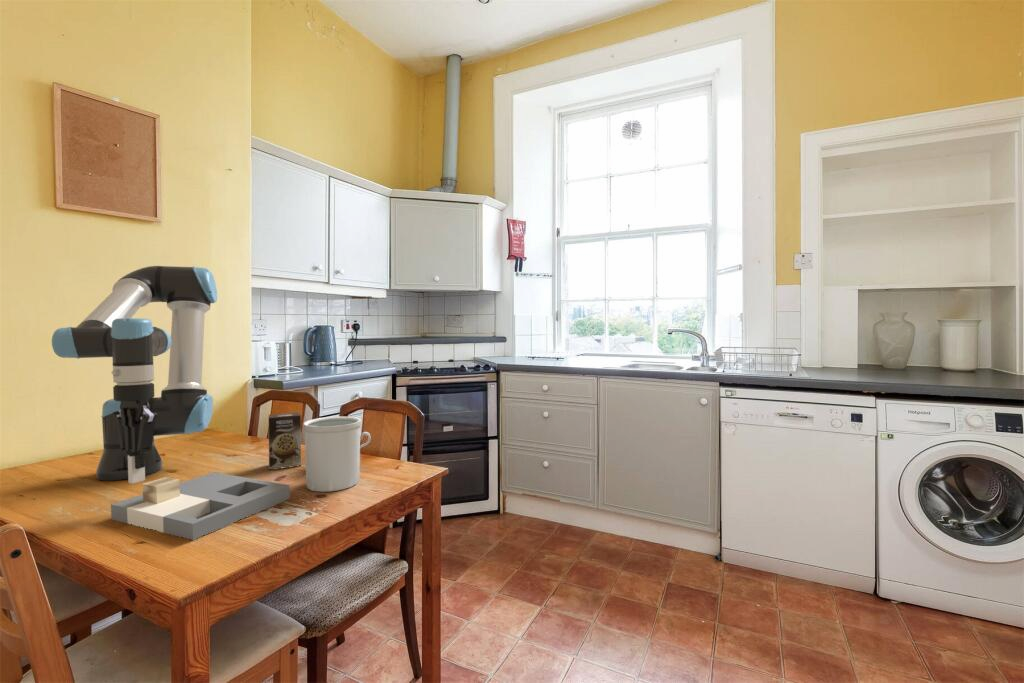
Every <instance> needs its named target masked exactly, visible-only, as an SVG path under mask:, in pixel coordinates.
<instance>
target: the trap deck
mask: <svg viewBox="0 0 1024 683" xmlns="http://www.w3.org/2000/svg"><path fill="white" fill-rule="evenodd" d="M289 498H290V499H291V486H290V485H289V484H285V483H279V482H275V481H274V482H273V481H269V480H262V479H255V478H250V477H243V476H239V475H232V474H227V473H220V472H215V471H213V472H211V473H208V474H203V475H201V476H197V477H194V478H191V479H189V480H188V479H187V480H184V481H181V482H180V496H179V497H176V498H173V499H170V500H167V501H164V502H161V503H158V504H155V503H150V502H146V501H143V493H142V494H139V495H135V496H133V497H129V498H126V499H123V500H120V501H117V502H114V503H111V504H110V515H111V520H112V521H115V522H120V523H124V524H128V525H131V524H132V525H131V526H136V527H139V526H140V527H139V528H143V527H144V528H143V529H147V528H148V529H149V530H150V529H153V530H152V531H154V530H157V531H156V532H158V531H159V532H158V533H162V532H164V533H163V534H166V533H167V535H170V534H171V536H174V535H175V537H177V536H179V538H181V537H184V538H183V539H185V538H187V539H186V540H189V539H191V540H190V541H193V540H194V541H196V540H198V539H200V538H199V537H201V536H203V535H205V536H207V535H206V534H208V533H210V534H212V533H213V532H212V531H215V530H217V531H219V530H221V529H223V528H222V527H224V528H226V527H228V526H231V525H232V524H231V523H233V524H235V523H237V522H236V521H238V520H240V519H242V520H244V519H243V518H245V517H247V516H249V517H251V516H253V515H252V514H254V515H256V514H258V513H261V512H263V511H265V510H268V509H270V508H272V507H274V505H275V506H277V505H279V504H281V503H284V502H286V501H288V500H290V499H289ZM287 499H288V500H287ZM285 500H286V501H285ZM283 501H284V502H283ZM278 503H279V504H278ZM276 504H277V505H276ZM267 508H268V509H267ZM262 510H263V511H262ZM260 511H261V512H260ZM257 512H258V513H257ZM255 513H256V514H255ZM250 515H251V516H250ZM247 518H248V517H247ZM245 519H246V518H245ZM240 521H241V520H240ZM234 522H235V523H234ZM238 522H239V521H238ZM230 524H231V525H230ZM227 525H228V526H227ZM225 526H226V527H225ZM220 528H221V529H220ZM148 529H147V530H148ZM218 529H219V530H218ZM211 532H212V533H211ZM215 532H216V531H215ZM208 535H209V534H208ZM203 537H204V536H203ZM197 538H198V539H197ZM201 538H202V537H201ZM195 539H196V540H195Z"/></svg>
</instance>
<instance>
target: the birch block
mask: <svg viewBox="0 0 1024 683" xmlns="http://www.w3.org/2000/svg"><path fill="white" fill-rule="evenodd" d="M180 483H181V482H180V479H177V478H172V477H169V476H168V477H166V476H164V477H162V478H159V479H155V480H150V481H148V482H144V483H142V494H143V501H146V502H150V503H155V504H158V503H161V502H164V501H167V500H170V499H173V498H176V497H179V496H180Z"/></svg>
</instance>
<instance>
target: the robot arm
mask: <svg viewBox="0 0 1024 683" xmlns="http://www.w3.org/2000/svg"><path fill="white" fill-rule="evenodd" d="M217 290H218V289H217V285H216V281H215V278H214V275H213V273H212V272H211V270H210V269H208V268H206V267H197V266H167V265H166V266H165V265H164V266H163V265H162V266H161V265H151V266H146V267H141V268H138V269H136V270H133V271H131V272H129V273H126V274H125V275H124V276H122V277H121V278H119V279H118V280H117V281H116V282H114V284H113V286H112V290H111V291H112V292H111V293H110V294H108V296H107V297H105V298H104V299H103V301H101V302H100V304H98V306H97V307H95V309H93V310H92V312H90V313H89V314H88V315H87V316H86V317H85V318H84V319H83V320H82V321H81V322H80V323H79V324H78V325H77V326H75V327H72V326H68V327H59V328H57V329H56V330H54V332H53V334H52V337H51V348H52V349H53V352H54V354H56V356H57V357H60V358H64V359H65V358H66V359H77V360H78V359H83V358H84V359H86V358H87V359H88V358H89V359H90V358H91V359H92V358H94V359H95V358H112V371H111V375H112V379H113V383H115V384H116V385H115V384H114V385H113V387H112V388H113V389H112V390H113V392H112V393H113V394H112V395H113V398H111V399H107V400H106V401H105V402H104V403H103V404H102V409H101V410H102V414H101V422H102V439H103V440H102V442H103V449H102V450H103V451H102V454H101V456H100V458H99V459H100V460H99V462H98V465H97V467H96V471H95V473H96V475H95V477H96V479H97V480H98V481H122V480H128V483H129V484H136V483H139V482H143V481H146V476H147V475H150V474H153V473H156V472H158V471H160V470H162V468H163V460H162V458H161V456H160V453H159V451H158V449H157V446H156V445H155V437H159V436H170V435H172V436H174V435H190V434H196V433H197V434H198V433H202V432H204V431H205V430H206V429H207V428H208V426H209V424H210V423H211V419H212V416H213V411H214V404H213V403H214V398H213V396H212V395H211V394H209V393H208V389H207V388H206V387H204V386H203V384H202V383H203V382H202V379H203V359H204V357H203V356H204V335H205V314H206V313H208V311H210V310H211V304H215V303H217V300H218V291H217ZM149 303H166V307H167V308H168V309H169V310H170V311H171V312H172V314H171V330H170V333H169V332H167V331H166V330H164V329H163V328H160V327H157V326H153V321H152V320H151V319H150V318H140V317H139V318H138V317H137V318H136V317H135V318H133V316H135V314H136V313H137V312H138V310H139V309H140V308H143V307H145V306H147V305H148V304H149ZM168 350H169V362H168V363H169V365H168V379H167V381H168V382H167V385H166V386H165V387H164V388H163V389H162V390H160V391H161V394H160V397H157V396H156V397H155V384H154V383H153V382H152V381H154V380H155V371H154V370H155V369H154V368H155V366H154V357H157V356H160V355H162V354H164V353H166V352H168Z"/></svg>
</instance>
